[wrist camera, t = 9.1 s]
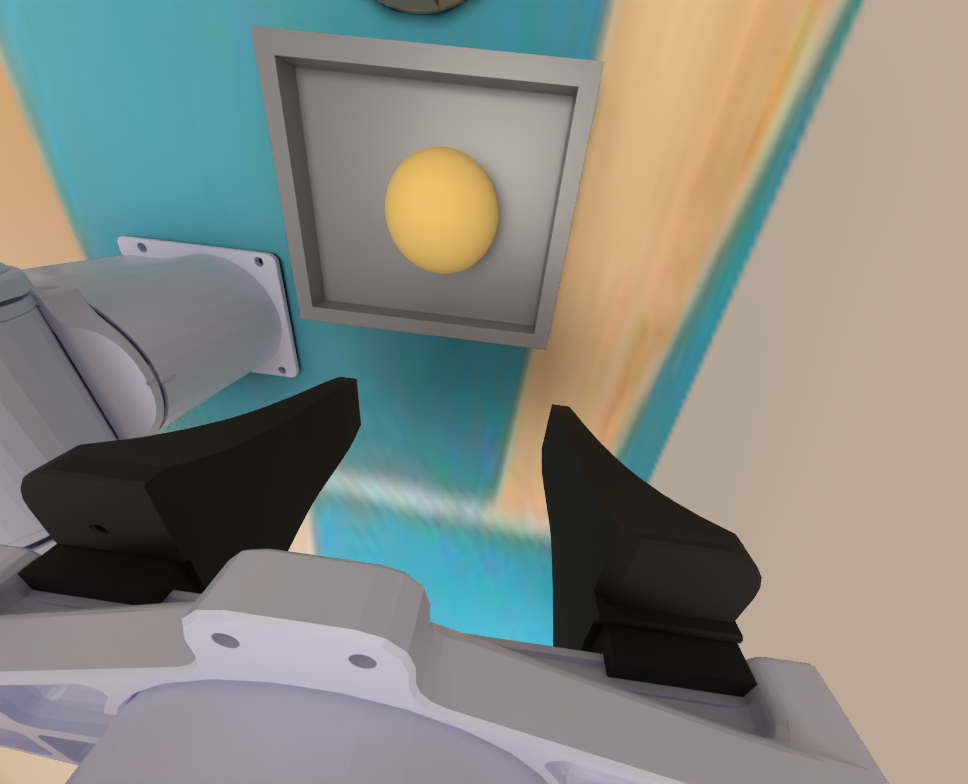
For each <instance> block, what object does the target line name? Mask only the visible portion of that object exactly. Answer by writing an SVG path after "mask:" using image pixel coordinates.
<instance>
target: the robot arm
mask: <svg viewBox="0 0 968 784" xmlns="http://www.w3.org/2000/svg"><path fill="white" fill-rule="evenodd" d="M117 242H118V246H119V248H120V251H121V253H122V255H120V256H113V257H106V258H99V259H92V260H85V261H78V262H71V263H64V264H58V265H50V266H43V267H36V268H29V269H22V270H21V269H19V268H16V267H13V266H8V265H5V264H3V263H1V262H0V746H1V747H5V748H9V749H13V750H17V751H22V752H26V753H30V754H34V755H38V756H43V757H47V758H50V759H55V760H59V761H63V762H67V763H71V764H75V765H79V766H78V768H77V769H76V770H75V771H74V773H73V774H72V775H71V777H70V778H69V779H68V780H67V782H66V783H65V784H889V783H888V781H887V779H886V778H885V776H884V775H883V773H882V772H881V770H880V769H879V767H878V765H877V764H876V762H875V761H874V759H873V757H872V756H871V754H870V753H869V751H868V750H867V748H866V746H865V745H864V743H863V742H862V740H861V739H860V737H859V735H858V734H857V732H856V731H855V729H854V727H853V726H852V724H851V723H850V721H849V719H848V718H847V716H846V715H845V713H844V712H843V710H842V708H841V707H840V705H839V704H838V702H837V701H836V699H835V697H834V696H833V694H832V693H831V691H830V689H829V688H828V686H827V685H826V683H825V682H824V680H823V678H822V677H821V676H820V674H819V672H818V671H817V669H816V667H815V666H813V665H811V664H807V663H801V662H794V661H788V660H780V659H774V658H767V657H755V658H750V659H748V660H745V658H744V656H743V654H742V652H741V650H740V648H739V646H738V644H737V643H741V642H742V641H743V636H742V634H741V632H740V630H739V628H738V626H737V624H736V622H735V620H736V619H737V618H738V617H739V615H740V614H741V613H742V612H743V611H744V609H745V608H746V607H747V606H748V605H749V604H750V602H751V601H752V600H753V599H754V597H755V596H756V594H757V592H758V591H759V589H760V585H761V575H760V572H759V570H758V568H757V566H756V564H755V563H754V561H753V560H752V558H751V557H750V555H749V554H748V552H747V551H746V549H745V548H744V546H743V544H742V543H741V542H740V540H739V538H738V537H737V536H736V534H734V533H732V532H730V531H728V530H726V529H724V528H722V527H720V526H718V525H716V524H714V523H712V522H710V521H708V520H706V519H704V518H702V517H700V516H698V515H697V514H695V513H693V512H691V511H690V510H688V509H686V508H685V507H683V506H681V505H679V504H678V503H676V502H674V501H673V500H671V499H670V498H668V497H666V496H665V495H663V494H662V493H660V492H659V491H657V490H656V489H654V488H653V487H652V486H650V485H649V484H647V483H646V482H645V481H643V480H642V479H641V478H639V477H638V476H637V475H635V474H634V473H633V472H632V471H630V470H629V469H628V468H627V467H626V466H624V465H623V464H622V463H621V462H620V461H619V460H618V459H616V458H615V457H614V456H613V455H612V454H611V453H610V452H609V451H608V450H607V449H606V448H605V447H604V446H603V445H602V444H601V443H600V442H599V441H598V440H597V439H596V437H595V436H594V435H593V434H592V433H591V432H590V431H589V430H588V428H587V427H586V426H585V425H584V424H583V423H582V421H581V420H580V419H579V418H578V417H577V415H576V414H575V413H574V412H573V411H572V409H571V408H570V407H568V406H561V405H553V404H552V407H551V411H550V416H549V420H548V424H547V429H546V433H545V437H544V442H543V446H542V476H543V483H544V490H545V497H546V503H547V510H548V517H549V523H550V532H551V548H552V576H553V646H546V645H539V644H532V643H526V642H519V641H512V640H506V639H499V638H492V637H486V636H479V635H472V634H465V633H461V632H458V631H455V630H452V629H449V628H446V627H444V626H441V625H438V624H435V623H432V622H430V619H429V618H430V603H429V600H428V598H427V595H426V593H425V590H424V588H423V587H422V586H421V584H419V583H418V582H417V581H415V580H414V579H413V578H411V577H410V576H409V575H407V574H406V573H405V572H403V571H399V570H396V569H393V568H390V567H386V566H383V565H379V564H372V563H365V562H358V561H351V560H344V559H337V558H330V557H323V556H316V555H309V554H302V553H296V552H289V551H288V550H289V548H290V546H291V544H292V542H293V540H294V538H295V536H296V534H297V532H298V530H299V528H300V526H301V524H302V522H303V520H304V519H305V517H306V515H307V513H308V511H309V509H310V507H311V505H312V504H313V502H314V500H315V499H316V497H317V496H318V494H319V492H320V491H321V490H322V488H323V487H324V485H325V484H326V482H327V481H328V479H329V478H330V476H331V475H332V473H333V472H334V471H335V469H336V468H337V466H338V465H339V463H340V462H341V460H342V459H343V457H344V456H345V454H346V453H347V451H348V450H349V448H350V447H351V445H352V443H353V441H354V439H355V437H356V434H357V432H358V430H359V428H360V426H361V421H360V410H359V400H358V390H357V379H352V378H345V377H338V378H335V379H332V380H330V381H327V382H325V383H322V384H320V385H318V386H315V387H313V388H311V389H308V390H306V391H304V392H301V393H299V394H297V395H294V396H292V397H290V398H287V399H284V400H282V401H279V402H277V403H274V404H272V405H269V406H266V407H264V408H261V409H258V410H255V411H252V412H249V413H246V414H243V415H240V416H236V417H233V418H230V419H226V420H222V421H218V422H214V423H210V424H206V425H202V426H197V427H193V428H189V429H184V430H179V431H174V432H169V433H163V434H158V431H159V430H161V429H163V428H164V427H166V426H167V425H169V424H170V423H172V422H173V421H175V420H177V419H178V418H180V417H181V416H183V415H184V414H186V413H187V412H189V411H190V410H192V409H194V408H195V407H197V406H198V405H200V404H201V403H203V402H204V401H206V400H207V399H209V398H211V397H212V396H214V395H215V394H217V393H218V392H220V391H221V390H223V389H225V388H226V387H228V386H229V385H231V384H232V383H234V382H235V381H237V380H238V379H240V378H242V377H243V376H245V375H246V374H248V373H249V372H253V373H261V374H269V375H276V376H284V377H295V376H296V375H298V374H299V366H298V360H297V355H296V349H295V344H294V339H293V333H292V328H291V323H290V317H289V312H288V307H287V301H286V296H285V290H284V285H283V280H282V274H281V269H280V264H279V260H278V259H277V257H276V256H275V255H273V254H271V253H267V252H258V251H250V250H242V249H234V248H225V247H217V246H209V245H200V244H192V243H184V242H175V241H167V240H159V239H150V238H142V237H134V236H121V237H119V238H118V241H117ZM144 245H145V247H146V248H147V250H146V249H145V247H144ZM259 258H261V259H262V260H263V265H262V264H261V263H260V262H259ZM282 367H283V368H285V370H286V371H284V370H283V369H282Z"/></svg>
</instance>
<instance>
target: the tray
mask: <svg viewBox="0 0 968 784" xmlns="http://www.w3.org/2000/svg"><path fill="white" fill-rule="evenodd" d="M251 31H252V37H253V43H254V49H255V55H256V61H257V66H258V72H259V78H260V84H261V90H262V96H263V102H264V108H265V113H266V119H267V125H268V131H269V137H270V143H271V149H272V154H273V160H274V166H275V172H276V178H277V184H278V190H279V196H280V201H281V207H282V213H283V219H284V225H285V231H286V237H287V243H288V248H289V254H290V260H291V266H292V272H293V278H294V284H295V289H296V295H297V301H298V307H299V313H300V319H304V320H312V321H320V322H328V323H336V324H344V325H352V326H360V327H368V328H376V329H384V330H392V331H400V332H408V333H416V334H424V335H432V336H440V337H448V338H456V339H464V340H472V341H480V342H488V343H496V344H504V345H512V346H520V347H528V348H536V349H544V350H546V347H547V342H548V338H549V333H550V328H551V323H552V318H553V313H554V308H555V303H556V298H557V293H558V288H559V283H560V278H561V273H562V268H563V263H564V258H565V253H566V249H567V244H568V239H569V234H570V229H571V224H572V219H573V214H574V209H575V204H576V199H577V194H578V189H579V184H580V179H581V174H582V169H583V164H584V159H585V155H586V150H587V145H588V140H589V135H590V130H591V125H592V120H593V115H594V110H595V105H596V100H597V95H598V90H599V85H600V80H601V75H602V70H603V65H604V62H602V61H592V60H583V59H573V58H563V57H553V56H543V55H533V54H523V53H514V52H504V51H494V50H484V49H474V48H464V47H455V46H445V45H435V44H425V43H415V42H405V41H396V40H386V39H376V38H366V37H356V36H346V35H337V34H327V33H317V32H307V31H297V30H287V29H278V28H268V27H258V26H251ZM430 147H447V148H452V149H455V150H458V151H460V152H462V153H464V154H466V155H468V156H469V157H471V158H472V159H473V160H474V161H476V162H477V163H478V164H479V165H480V166H481V167H482V169H483V170H484V171H485V172H486V174H487V176H488V177H489V179H490V181H491V183H492V185H493V187H494V190H495V193H496V197H497V201H498V210H499V216H498V226H497V230H496V234H495V237H494V240H493V242H492V244H491V246H490V248H489V249H488V251H487V252H486V253H485V255H484V256H483V257H482V258H481V259H480V260H479V261H478V262H477V263H475V264H474V265H472V266H471V267H469V268H467V269H465V270H463V271H460V272H457V273H451V274H440V273H433V272H430V271H427V270H424V269H422V268H420V267H418V266H416V265H415V264H413V263H412V262H411V261H409V260H408V259H407V258H406V257H405V256H404V255H403V254H402V253H401V251H400V250H399V249H398V247H397V246H396V244H395V243H394V241H393V239H392V237H391V235H390V232H389V229H388V226H387V222H386V216H385V197H386V192H387V187H388V185H389V182H390V179H391V177H392V176H393V174H394V172H395V171H396V169H397V168H398V166H399V165H400V164H401V163H402V162H403V161H404V160H405V159H406V158H408V157H409V156H410V155H412V154H413V153H415V152H417V151H419V150H422V149H425V148H430Z"/></svg>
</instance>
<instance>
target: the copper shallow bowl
mask: <svg viewBox="0 0 968 784" xmlns="http://www.w3.org/2000/svg"><path fill="white" fill-rule="evenodd" d="M377 1H378V2H380V3H383V4H384V5H385V6H388V7H390V8H393V9H396V10H398V11H401V12H406V13H411V14H433V13H439V12H443V11H446V10H448V9H451V8H454V7H456V6H458V5H459V4H461V3H463V2H464V1H466V0H377Z"/></svg>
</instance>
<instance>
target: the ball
mask: <svg viewBox="0 0 968 784" xmlns="http://www.w3.org/2000/svg"><path fill="white" fill-rule="evenodd" d="M385 216H386V222H387V226H388V229H389V232H390V235H391V237H392V239H393V241H394V243H395V244H396V246H397V247H398V249H399V250H400V251H401V253H402V254H403V255H404V256H405V257H406V258H407V259H408V260H409V261H411V262H412V263H413V264H415V265H416V266H418V267H420V268H422V269H424V270H427V271H430V272H433V273H440V274H451V273H457V272H460V271H463V270H465V269H467V268H469V267H471V266H472V265H474V264H475V263H477V262H478V261H479V260H480V259H481V258H482V257H483V256H484V255H485V253H486V252H487V251H488V249H489V248H490V246H491V244H492V242H493V240H494V237H495V234H496V230H497V226H498V216H499V210H498V201H497V197H496V193H495V190H494V187H493V185H492V183H491V181H490V179H489V177H488V176H487V174H486V172H485V171H484V170H483V169H482V167H481V166H480V165H479V164H478V163H477V162H476V161H474V160H473V159H472V158H471V157H469V156H468V155H466V154H464V153H462V152H460V151H458V150H455V149H452V148H447V147H430V148H425V149H422V150H419V151H417V152H415V153H413V154H412V155H410V156H409V157H408V158H406V159H405V160H404V161H403V162H402V163H401V164H400V165H399V166H398V168H397V169H396V171H395V172H394V174H393V176H392V177H391V179H390V182H389V185H388V187H387V192H386V197H385Z"/></svg>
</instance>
